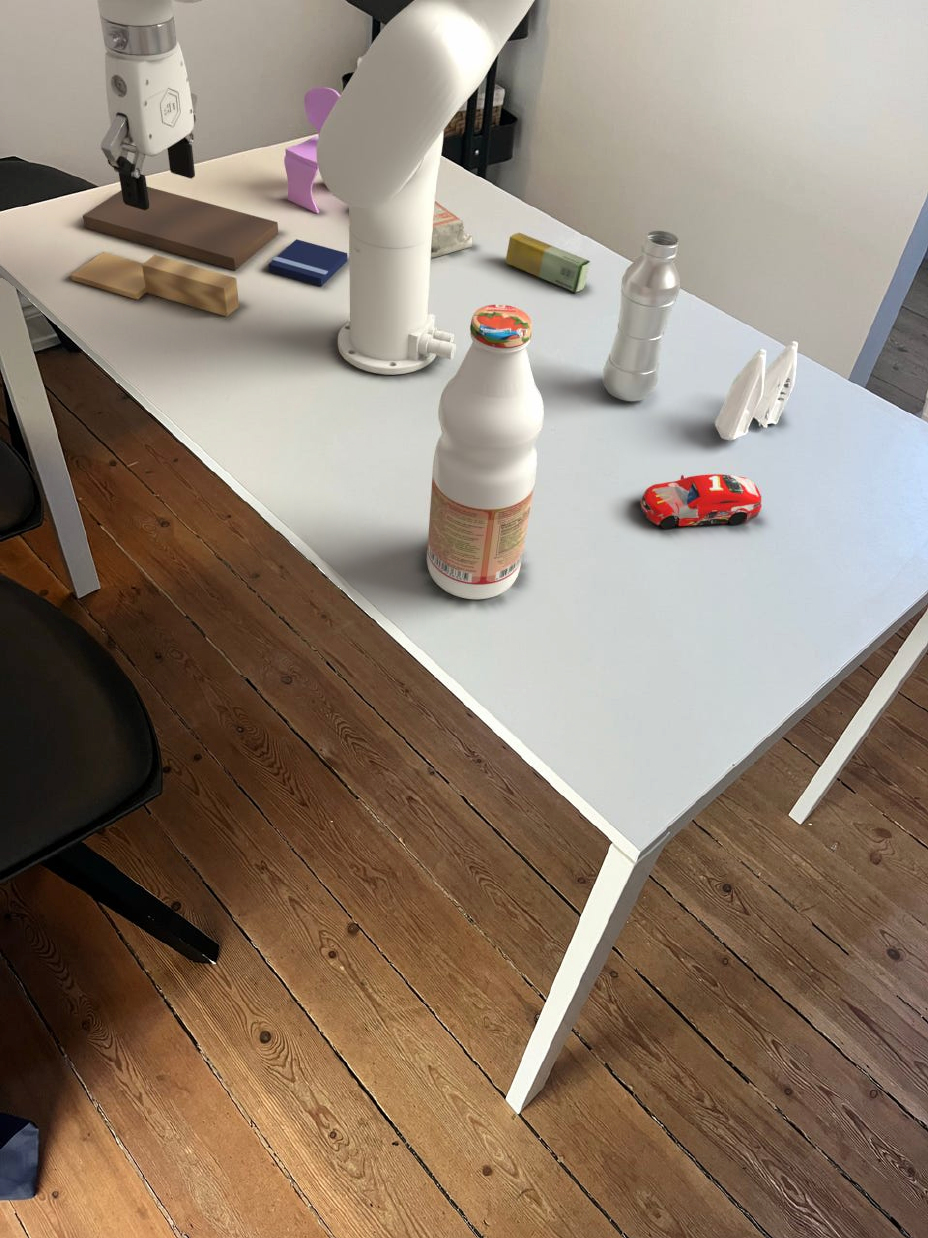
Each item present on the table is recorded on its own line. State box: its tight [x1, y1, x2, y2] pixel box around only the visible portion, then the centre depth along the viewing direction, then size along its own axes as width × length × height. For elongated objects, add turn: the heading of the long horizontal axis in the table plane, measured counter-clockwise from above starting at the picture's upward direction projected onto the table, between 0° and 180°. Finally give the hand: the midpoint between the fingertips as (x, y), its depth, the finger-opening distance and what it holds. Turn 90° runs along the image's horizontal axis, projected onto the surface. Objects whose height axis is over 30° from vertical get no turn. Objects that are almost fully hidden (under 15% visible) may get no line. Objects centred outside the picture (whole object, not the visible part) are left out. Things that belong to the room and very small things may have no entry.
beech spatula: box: [70, 251, 240, 317], centre depth 127 cm, size 22×7×4 cm, turn 69°
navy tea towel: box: [267, 239, 348, 287], centre depth 135 cm, size 8×8×1 cm
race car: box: [639, 473, 762, 530], centre depth 106 cm, size 13×5×4 cm, turn 98°
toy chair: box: [283, 86, 341, 214], centre depth 144 cm, size 8×9×15 cm
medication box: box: [504, 232, 591, 294], centre depth 137 cm, size 12×3×4 cm, turn 57°
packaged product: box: [431, 200, 473, 259], centre depth 143 cm, size 18×5×10 cm
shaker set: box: [714, 341, 799, 441], centre depth 114 cm, size 12×4×11 cm, turn 130°
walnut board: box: [82, 186, 279, 272], centre depth 139 cm, size 24×12×2 cm, turn 69°
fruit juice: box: [426, 304, 545, 600], centre depth 88 cm, size 9×9×28 cm
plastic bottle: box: [602, 229, 681, 402], centre depth 114 cm, size 6×7×20 cm
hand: (160, 190), depth 118 cm, fingers open, 9 cm apart
